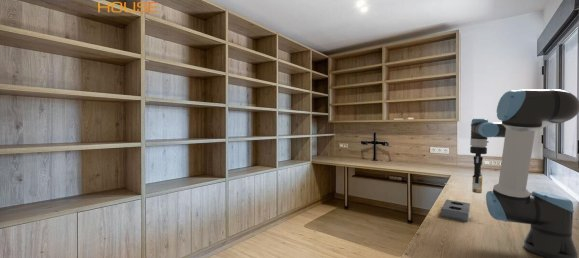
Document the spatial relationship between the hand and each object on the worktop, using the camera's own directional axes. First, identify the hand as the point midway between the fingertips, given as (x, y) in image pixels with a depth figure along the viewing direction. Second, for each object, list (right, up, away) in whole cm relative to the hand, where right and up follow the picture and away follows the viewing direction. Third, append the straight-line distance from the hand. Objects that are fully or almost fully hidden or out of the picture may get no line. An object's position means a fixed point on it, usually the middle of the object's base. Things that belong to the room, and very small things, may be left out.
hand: (476, 188), depth 145 cm
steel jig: (-11, -15, +2) cm, 18 cm away
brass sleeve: (0, -2, 0) cm, 2 cm away
